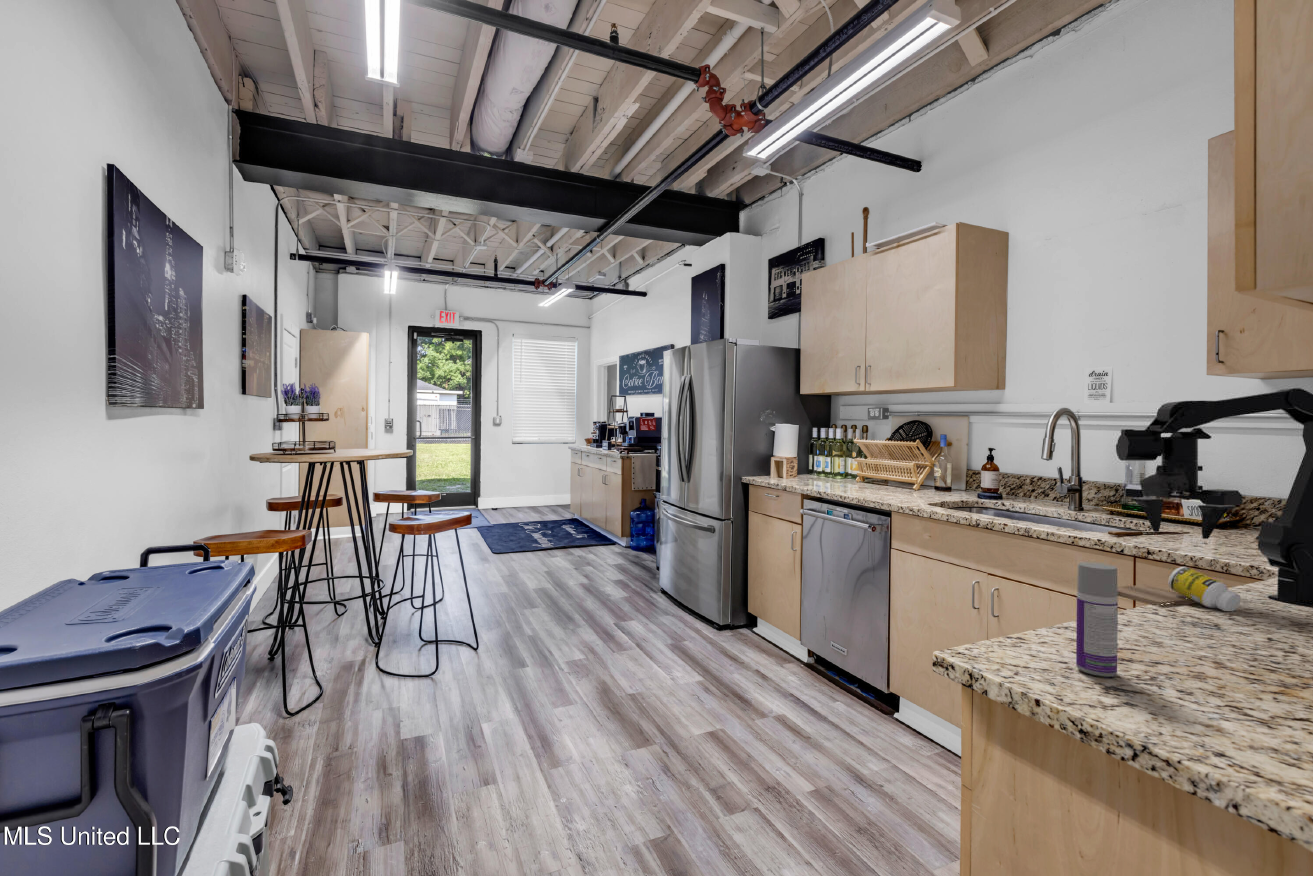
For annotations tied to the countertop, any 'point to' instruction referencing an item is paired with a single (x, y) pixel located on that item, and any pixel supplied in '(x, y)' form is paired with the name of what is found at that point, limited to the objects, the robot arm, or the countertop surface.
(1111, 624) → the container
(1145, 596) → the riser
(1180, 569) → the supplement bottle
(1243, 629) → the countertop surface
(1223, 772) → the countertop surface
